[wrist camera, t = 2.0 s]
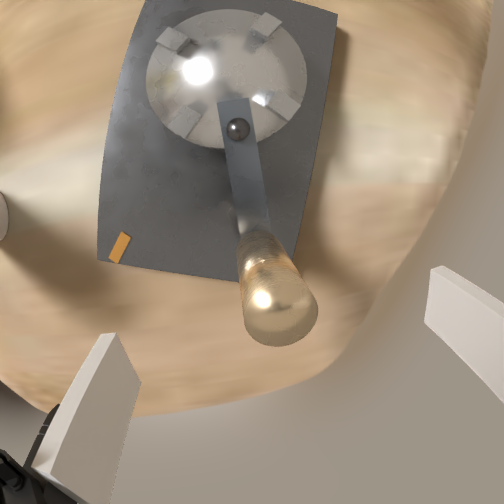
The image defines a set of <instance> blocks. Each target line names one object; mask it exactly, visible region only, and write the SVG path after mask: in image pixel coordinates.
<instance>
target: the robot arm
mask: <svg viewBox="0 0 504 504" xmlns="http://www.w3.org/2000/svg"><path fill="white" fill-rule="evenodd" d="M424 323H425V324H426V325H427V326H428V327H429V328H431V329H432V330H433V331H434V332H435V333H436V334H437V335H438V336H439V337H440V338H441V339H442V340H443V341H444V342H445V343H446V344H447V345H448V346H449V347H450V348H451V349H452V350H453V351H455V353H456V354H457V355H458V356H459V357H460V358H461V359H462V360H464V362H465V363H466V364H467V365H468V366H469V367H470V368H471V369H472V370H473V371H474V372H475V373H476V374H477V375H478V376H479V377H480V378H481V379H482V380H483V381H484V382H485V384H486V385H487V386H488V387H489V388H490V389H491V390H492V391H493V392H494V393H495V394H496V395H497V397H498V398H499V399H500V400H501V401H502V402H503V403H504V303H502V302H501V301H499V300H498V299H496V298H495V297H493V296H491V295H490V294H489V293H487V292H486V291H484V290H483V289H481V288H479V287H478V286H476V285H474V284H473V283H471V282H470V281H468V280H467V279H465V278H463V277H462V276H460V275H458V274H457V273H455V272H453V271H452V270H450V269H448V268H447V267H445V266H439V267H436V268H433V269H431V273H430V283H429V292H428V300H427V307H426V313H425V319H424ZM140 386H141V381H140V379H139V377H138V375H137V373H136V372H135V370H134V368H133V366H132V364H131V362H130V360H129V358H128V356H127V354H126V352H125V350H124V348H123V346H122V343H121V341H120V339H119V337H118V335H117V333H107V334H101V335H100V337H99V338H98V340H97V341H96V343H95V345H94V346H93V348H92V350H91V351H90V353H89V355H88V356H87V358H86V360H85V361H84V363H83V365H82V366H81V368H80V370H79V372H78V373H77V375H76V377H75V379H74V380H73V382H72V384H71V386H70V387H69V389H68V391H67V393H66V395H65V397H64V399H63V400H62V402H61V404H57V405H56V406H55V407H54V408H53V409H52V410H51V411H50V412H49V414H48V416H47V418H46V420H45V422H44V423H43V424H44V426H42V427H41V429H40V432H39V435H37V438H36V440H35V442H34V444H33V446H32V448H31V450H30V452H29V455H28V457H27V459H26V461H25V464H24V466H23V467H21V466H20V465H19V464H18V463H17V462H16V461H15V460H14V459H13V458H12V457H11V456H10V455H9V454H7V452H6V451H5V450H1V449H0V504H77V503H79V504H110V500H111V495H112V490H113V486H114V481H115V477H116V472H117V469H118V464H119V460H120V456H121V452H122V449H123V445H124V441H125V437H126V434H127V430H128V426H129V423H130V419H131V416H132V412H133V409H134V406H135V402H136V399H137V396H138V392H139V389H140Z"/></svg>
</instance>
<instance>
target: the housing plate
mask: <svg viewBox="0 0 504 504" xmlns="http://www.w3.org/2000/svg"><path fill="white" fill-rule="evenodd" d="M222 9H237V10H244V11H249V12H253V13H256V14H259V15H263V14H264V13H265V12H266V13H268V14H270V15H272V16H273V17H275V18H277V19H278V20H280V21H282V24H281V27H282V28H284V29H285V30H286V31H287V32H288V33H289V34H290V35H291V36H292V38H293V39H294V40H295V41H296V43H297V44H298V46H299V48H300V50H301V52H302V54H303V57H304V60H305V63H306V69H307V85H306V91H305V94H304V97H303V100H302V102H301V104H300V105H301V106H300V107H299V109H298V110H297V111H296V113H295V114H294V116H293V117H292V118H291V119H290V120H289V121H288V122H287V123H286V124H285V125H284V126H283V127H282V128H281V129H279V130H278V131H277V132H275V133H274V134H272V135H271V136H269V137H267V138H265V139H263V140H261V141H259V142H258V143H257V147H258V153H259V159H260V165H261V171H262V177H263V183H264V189H265V195H266V201H267V208H268V214H269V221H270V227H271V234H273V235H274V236H275V237H276V238H277V239H278V241H279V242H280V244H281V245H282V247H283V248H284V250H285V251H286V253H287V255H288V256H289V258H290V259H291V261H292V259H293V255H294V251H295V247H296V242H297V238H298V234H299V229H300V225H301V221H302V216H303V212H304V207H305V203H306V198H307V193H308V189H309V184H310V179H311V174H312V169H313V164H314V159H315V154H316V149H317V144H318V139H319V133H320V128H321V122H322V117H323V111H324V105H325V99H326V93H327V87H328V81H329V75H330V68H331V62H332V55H333V48H334V41H335V33H336V25H337V17H338V14H335V13H333V12H330V11H327V10H324V9H320V8H317V7H314V6H311V5H307V4H304V3H300V2H296V1H292V0H146V1H145V3H144V5H143V8H142V10H141V13H140V15H139V18H138V20H137V23H136V26H135V28H134V31H133V34H132V37H131V40H130V43H129V46H128V49H127V52H126V55H125V59H124V62H123V65H122V69H121V72H120V76H119V80H118V84H117V88H116V92H115V96H114V101H113V105H112V110H111V115H110V120H109V125H108V131H107V137H106V143H105V150H104V157H103V165H102V173H101V183H100V195H99V210H98V240H97V258H98V260H101V261H106V262H112V263H117V264H124V265H129V266H135V267H141V268H147V269H154V270H160V271H166V272H173V273H179V274H186V275H192V276H199V277H206V278H213V279H220V280H227V281H235V282H239V274H238V266H237V257H236V249H237V245H238V243H239V241H240V240H241V237H240V231H239V226H238V220H237V215H236V210H235V204H234V199H233V193H232V188H231V182H230V177H229V171H228V166H227V160H226V154H225V150H218V149H210V148H206V147H202V146H199V145H196V144H194V143H191V142H189V141H187V140H186V139H184V138H182V137H180V136H178V135H177V134H175V133H174V132H172V131H171V130H170V129H168V128H167V127H166V126H165V125H164V124H163V123H162V122H161V120H160V119H159V118H158V117H157V115H156V114H155V112H154V110H153V108H152V107H151V104H150V101H149V99H148V95H147V90H146V73H147V68H148V64H149V61H150V58H151V56H152V53H153V52H154V50H155V48H156V46H157V45H158V44H157V43H156V40H157V39H158V38H159V36H160V35H161V34H162V33H163V32H164V31H165V30H166V29H167V28H168V27H171V28H174V27H175V26H177V25H178V24H180V23H181V22H183V21H185V20H186V19H189V18H191V17H193V16H195V15H198V14H201V13H204V12H208V11H213V10H222Z"/></svg>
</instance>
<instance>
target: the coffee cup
mask: <svg viewBox="0 0 504 504" xmlns="http://www.w3.org/2000/svg"><path fill="white" fill-rule="evenodd" d="M8 222H9V217H8V209H7V205H6V202H5V199H4V197H3V195H2V194H1V193H0V241H1V240H2V239H3V238H4V237H5V235H6V233H7V229H8Z"/></svg>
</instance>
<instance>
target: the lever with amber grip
mask: <svg viewBox="0 0 504 504" xmlns="http://www.w3.org/2000/svg"><path fill="white" fill-rule="evenodd" d="M281 24H282V21H280V20H278V19H277V18H275V17H273V16H272V15H270V14H268V13H266V12H265V13H264V14H263V15H259V14H256V13H253V12H249V11H244V10H237V9H222V10H213V11H208V12H204V13H201V14H198V15H195V16H193V17H191V18H189V19H186V20H185V21H183V22H181V23H180V24H178V25H177V26H175V27H174V28H171V27H168V28H167V29H166V30H165V31H164V32H163V33H162V34H161V35H160V36H159V38H158V39H157V40H156V43H157V44H158V45H157V46H156V48H155V50H154V52H153V53H152V56H151V58H150V61H149V64H148V68H147V73H146V90H147V95H148V99H149V101H150V104H151V107H152V108H153V110H154V112H155V114H156V115H157V117H158V118H159V119H160V120H161V122H162V123H163V124H164V125H165V126H166V127H167V128H168V129H170V130H171V131H172V132H174V133H175V134H177V135H178V136H180V137H182V138H184V139H186V140H187V141H189V142H191V143H194V144H196V145H199V146H202V147H206V148H210V149H218V150H225V154H226V160H227V166H228V171H229V177H230V182H231V188H232V193H233V199H234V204H235V210H236V215H237V220H238V226H239V231H240V237H241V240H240V241H239V243H238V245H237V249H236V257H237V266H238V274H239V283H240V291H241V299H242V308H243V316H244V323H245V327H246V330H247V332H248V333H249V335H250V336H251V337H252V338H253V339H255V340H256V341H257V342H259V343H261V344H264V345H267V346H274V347H279V346H286V345H290V344H293V343H295V342H297V341H299V340H301V339H302V338H303V337H305V336H306V335H307V334H308V333H309V332H310V331H311V329H312V328H313V326H314V325H315V322H316V320H317V316H318V305H317V302H316V300H315V298H314V296H313V294H312V293H311V291H310V289H309V288H308V286H307V285H306V283H305V281H304V280H303V278H302V277H301V275H300V273H299V272H298V270H297V269H296V267H295V266H294V264H293V262H292V261H291V259H290V258H289V256H288V255H287V253H286V251H285V250H284V248H283V247H282V245H281V244H280V242H279V241H278V239H277V238H276V237H275V236H274V235H273V234H271V227H270V221H269V214H268V208H267V201H266V195H265V189H264V183H263V177H262V171H261V165H260V159H259V153H258V147H257V143H258V142H259V141H261V140H263V139H265V138H267V137H269V136H271V135H272V134H274V133H275V132H277V131H278V130H279V129H281V128H282V127H283V126H284V125H285V124H286V123H287V122H288V121H289V120H290V119H291V118H292V117H293V116H294V114H295V113H296V111H297V110H298V109H299V107H300V106H301V105H300V104H301V102H302V100H303V97H304V94H305V91H306V85H307V69H306V63H305V60H304V57H303V54H302V52H301V50H300V48H299V46H298V44H297V43H296V41H295V40H294V39H293V38H292V36H291V35H290V34H289V33H288V32H287V31H286V30H285V29H284V28H282V27H281Z"/></svg>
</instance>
